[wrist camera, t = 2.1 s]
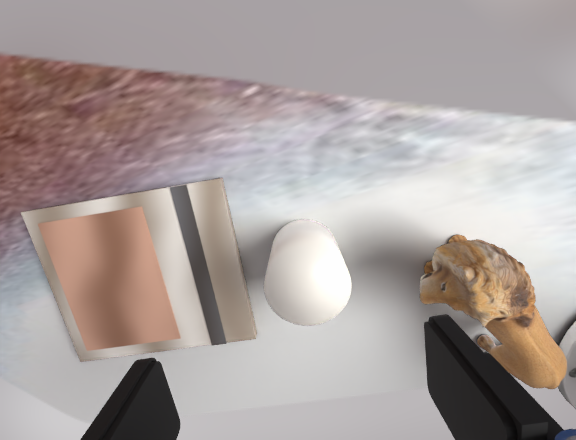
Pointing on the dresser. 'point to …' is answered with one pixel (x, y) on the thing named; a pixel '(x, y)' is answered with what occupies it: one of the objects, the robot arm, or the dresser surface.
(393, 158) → the dresser surface
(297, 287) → the white rounded cylinder
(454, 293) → the lion figurine
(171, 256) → the board
